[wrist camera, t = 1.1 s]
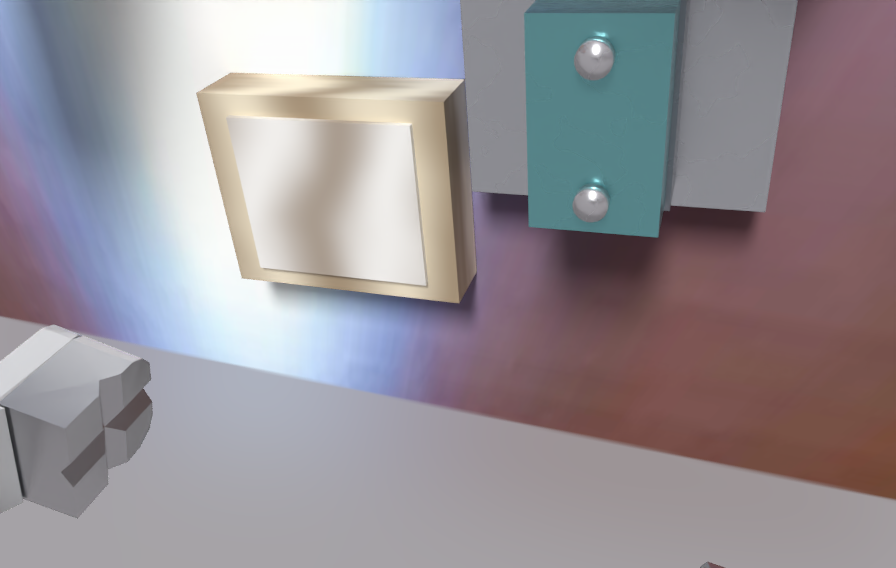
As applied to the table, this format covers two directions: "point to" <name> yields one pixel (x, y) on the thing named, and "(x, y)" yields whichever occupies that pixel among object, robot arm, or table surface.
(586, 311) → the table surface
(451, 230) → the stand
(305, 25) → the table surface
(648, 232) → the block
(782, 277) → the table surface
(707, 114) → the stand
